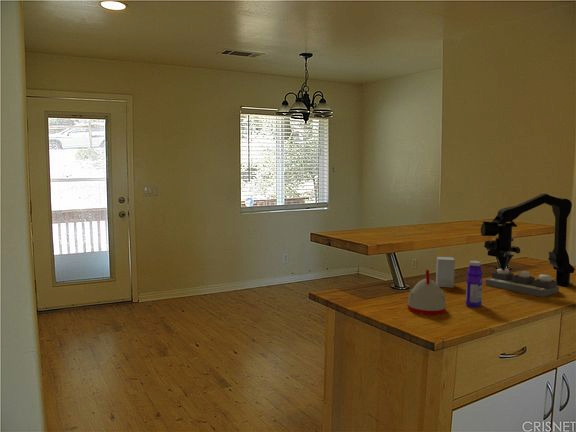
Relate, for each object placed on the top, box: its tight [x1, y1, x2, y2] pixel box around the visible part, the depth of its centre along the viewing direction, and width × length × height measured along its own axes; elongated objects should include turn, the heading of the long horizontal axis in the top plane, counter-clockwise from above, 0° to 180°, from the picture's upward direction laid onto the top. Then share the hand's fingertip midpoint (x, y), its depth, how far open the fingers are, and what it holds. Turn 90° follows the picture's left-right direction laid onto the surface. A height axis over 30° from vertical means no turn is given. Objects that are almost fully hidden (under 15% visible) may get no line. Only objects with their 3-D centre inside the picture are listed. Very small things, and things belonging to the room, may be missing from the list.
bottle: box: [465, 260, 484, 308], centre depth 190 cm, size 7×6×17 cm
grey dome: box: [407, 269, 447, 316], centre depth 185 cm, size 14×14×15 cm
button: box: [496, 268, 510, 275], centre depth 226 cm, size 5×5×2 cm
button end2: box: [538, 273, 553, 283], centre depth 211 cm, size 5×5×2 cm
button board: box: [485, 271, 560, 298], centre depth 218 cm, size 14×26×5 cm, turn 38°
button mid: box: [516, 270, 531, 279], centre depth 218 cm, size 5×5×2 cm
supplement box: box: [435, 256, 456, 288], centre depth 222 cm, size 7×7×13 cm
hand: (503, 269), depth 226 cm, fingers closed, pressing on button
